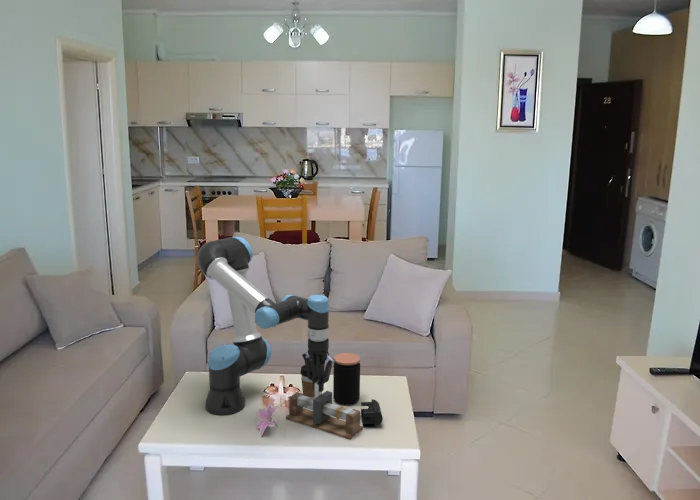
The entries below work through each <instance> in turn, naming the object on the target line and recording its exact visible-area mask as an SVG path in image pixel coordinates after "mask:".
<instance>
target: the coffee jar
mask: <svg viewBox="0 0 700 500" xmlns="http://www.w3.org/2000/svg"><path fill="white" fill-rule="evenodd" d="M333 358H334V359H335V361H334V363H333V373H332V374H333V378H332V379H333V385H332V386H333V387H332V389H333V390H332V399H333V400H334V401H335V403H336V404H338V405H340V406H353V405H355V404H357V403H358V402H359V400H360V398H361V396H360V395H361V394H360V393H361V392H360V391H361V356H359V355H358V354H356V353H351V352H343V353H338V354H335V355H334V356H333Z"/></svg>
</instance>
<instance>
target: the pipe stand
mask: <svg viewBox="0 0 700 500" xmlns="http://www.w3.org/2000/svg"><path fill="white" fill-rule="evenodd" d="M313 400H314V399H313V398H310V397H307V396H303V393H301V392H298V391H297V392H295V393H293V394H292V395H290V396H289V397H288V415H286V416H285V419H286V420H288V421H291V422H295V423H297V424H300V425H303V426H306V427H309V428H312V429H316V430H318V431H322V432H325V433H327V434H331V435H334V436H337V437H339V438H344V439H347V440H349V441H350V440H351V439H353V438H354V437H355V436H356V435H357V434H359V433H360V432H361V431H362V430H363V429H364V428H363V425H361V410H359V409H355V408H352V409H350V408H348V407H347V408H346V407H344V406H343V405H340V406H339V405H336V404H333V403H332V404H330V403H327V402H326V403H324V404H323V405H322V413H323V414H326V415H329V417H328V418H327V419H325V420H324V421H323V422H321V423H320V424H319V425H318V424H315V423H313Z"/></svg>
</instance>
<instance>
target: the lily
mask: <svg viewBox="0 0 700 500" xmlns="http://www.w3.org/2000/svg"><path fill="white" fill-rule="evenodd" d="M278 407H279V406H278V405H276V406H273V407H272V401H270V402H269V403H268V405H267V406H266V408H265V409H264V408H261V409H257V418H258V419H259V421H258V422H257V424H256V426H255V429H256V430H257V429H259V437H260V438H262V436H263V435H264V432H265V430H266V428H267V427H275V426H276V428H279V426H278V425H277V423H276V422H275V420H274V419H273V416H274V414H275V412H276V411H277V410H278Z"/></svg>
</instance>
